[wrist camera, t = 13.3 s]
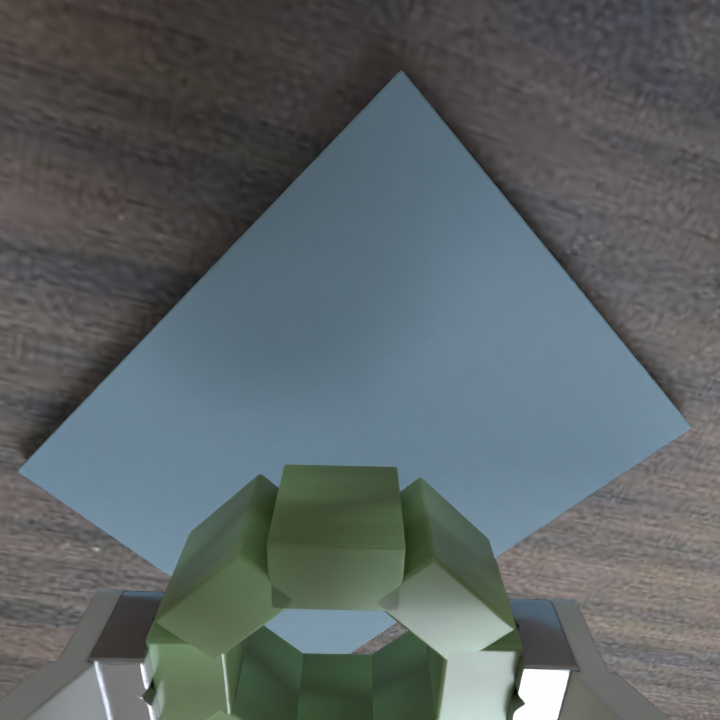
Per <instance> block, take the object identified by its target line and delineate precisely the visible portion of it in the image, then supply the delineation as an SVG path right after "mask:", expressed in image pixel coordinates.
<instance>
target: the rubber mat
mask: <svg viewBox="0 0 720 720" xmlns="http://www.w3.org/2000/svg"><path fill="white" fill-rule="evenodd" d="M690 428H691V425H690V424H689V422H688V421H687V420H686V419H685V417H684V416H683V415H682V414H681V413H680V411H679V410H678V409H677V408H676V406H675V405H674V404H673V403H672V401H671V400H670V399H669V398H668V397H667V395H666V394H665V393H664V392H663V390H662V389H661V388H660V387H659V385H658V384H657V383H656V382H655V381H654V379H653V378H652V377H651V376H650V374H649V373H648V372H647V371H646V369H645V368H644V367H643V366H642V365H641V363H640V362H639V361H638V360H637V358H636V357H635V356H634V355H633V353H632V352H631V351H630V350H629V349H628V347H627V346H626V345H625V344H624V342H623V341H622V340H621V339H620V337H619V336H618V335H617V334H616V333H615V331H614V330H613V329H612V328H611V326H610V325H609V324H608V323H607V321H606V320H605V319H604V318H603V317H602V315H601V314H600V313H599V312H598V310H597V309H596V308H595V307H594V305H593V304H592V303H591V302H590V301H589V299H588V298H587V297H586V296H585V294H584V293H583V292H582V291H581V289H580V288H579V287H578V286H577V285H576V283H575V282H574V281H573V280H572V278H571V277H570V276H569V275H568V273H567V272H566V271H565V270H564V269H563V267H562V266H561V265H560V264H559V262H558V261H557V260H556V259H555V257H554V256H553V255H552V254H551V253H550V251H549V250H548V249H547V248H546V246H545V245H544V244H543V243H542V241H541V240H540V239H539V238H538V237H537V235H536V234H535V233H534V232H533V230H532V229H531V228H530V227H529V225H528V224H527V223H526V222H525V221H524V219H523V218H522V217H521V216H520V214H519V213H518V212H517V211H516V209H515V208H514V207H513V206H512V205H511V203H510V202H509V201H508V200H507V198H506V197H505V196H504V195H503V193H502V192H501V191H500V190H499V189H498V187H497V186H496V185H495V184H494V182H493V181H492V180H491V179H490V177H489V176H488V175H487V174H486V173H485V171H484V170H483V169H482V168H481V166H480V165H479V164H478V163H477V161H476V160H475V159H474V158H473V157H472V155H471V154H470V153H469V152H468V150H467V149H466V148H465V147H464V145H463V144H462V143H461V142H460V141H459V139H458V138H457V137H456V136H455V134H454V133H453V132H452V131H451V129H450V128H449V127H448V126H447V125H446V123H445V122H444V121H443V120H442V118H441V117H440V116H439V115H438V113H437V112H436V111H435V110H434V109H433V107H432V106H431V105H430V104H429V102H428V101H427V100H426V99H425V97H424V96H423V95H422V94H421V93H420V91H419V90H418V89H417V88H416V86H415V85H414V84H413V83H412V81H411V80H410V79H409V78H408V77H407V75H406V74H405V73H404V72H403V71H402V70H401V71H399V72H398V73H397V74H396V75H395V76H394V77H393V78H392V79H391V80H390V82H389V83H388V84H387V85H386V86H385V87H384V88H383V89H382V90H381V91H380V92H379V93H378V94H377V95H376V96H375V97H374V98H373V99H372V100H371V101H370V102H369V103H368V104H367V106H366V107H365V108H364V109H363V110H362V111H361V112H360V113H359V114H358V115H357V116H356V117H355V118H354V119H353V120H352V121H351V122H350V123H349V124H348V125H347V126H346V127H345V128H344V130H343V131H342V132H341V133H340V134H339V135H338V136H337V137H336V138H335V139H334V140H333V141H332V142H331V143H330V144H329V145H328V146H327V147H326V148H325V149H324V150H323V151H322V152H321V154H320V155H319V156H318V157H317V158H316V159H315V160H314V161H313V162H312V163H311V164H310V165H309V166H308V167H307V168H306V169H305V170H304V171H303V172H302V173H301V174H300V175H299V176H298V178H297V179H296V180H295V181H294V182H293V183H292V184H291V185H290V186H289V187H288V188H287V189H286V190H285V191H284V192H283V193H282V194H281V195H280V196H279V197H278V198H277V199H276V200H275V202H274V203H273V204H272V205H271V206H270V207H269V208H268V209H267V210H266V211H265V212H264V213H263V214H262V215H261V216H260V217H259V218H258V219H257V220H256V221H255V222H254V223H253V224H252V226H251V227H250V228H249V229H248V230H247V231H246V232H245V233H244V234H243V235H242V236H241V237H240V238H239V239H238V240H237V241H236V242H235V243H234V244H233V245H232V246H231V247H230V248H229V250H228V251H227V252H226V253H225V254H224V255H223V256H222V257H221V258H220V259H219V260H218V261H217V262H216V263H215V264H214V265H213V266H212V267H211V268H210V269H209V270H208V271H207V272H206V274H205V275H204V276H203V277H202V278H201V279H200V280H199V281H198V282H197V283H196V284H195V285H194V286H193V287H192V288H191V289H190V290H189V291H188V292H187V293H186V294H185V295H184V296H183V298H182V299H181V300H180V301H179V302H178V303H177V304H176V305H175V306H174V307H173V308H172V309H171V310H170V311H169V312H168V313H167V314H166V315H165V316H164V317H163V318H162V319H161V320H160V322H159V323H158V324H157V325H156V326H155V327H154V328H153V329H152V330H151V331H150V332H149V333H148V334H147V335H146V336H145V337H144V338H143V339H142V340H141V341H140V342H139V343H138V344H137V346H136V347H135V348H134V349H133V350H132V351H131V352H130V353H129V354H128V355H127V356H126V357H125V358H124V359H123V360H122V361H121V362H120V363H119V364H118V365H117V366H116V367H115V368H114V370H113V371H112V372H111V373H110V374H109V375H108V376H107V377H106V378H105V379H104V380H103V381H102V382H101V383H100V384H99V385H98V386H97V387H96V388H95V389H94V390H93V391H92V392H91V394H90V395H89V396H88V397H87V398H86V399H85V400H84V401H83V402H82V403H81V404H80V405H79V406H78V407H77V408H76V409H75V410H74V411H73V412H72V413H71V414H70V415H69V416H68V418H67V419H66V420H65V421H64V422H63V423H62V424H61V425H60V426H59V427H58V428H57V429H56V430H55V431H54V432H53V433H52V434H51V435H50V436H49V437H48V438H47V439H46V440H45V442H44V443H43V444H42V445H41V446H40V447H39V448H38V449H37V450H36V451H35V452H34V453H33V454H32V455H31V456H30V457H29V458H28V459H27V460H26V461H25V462H24V463H23V464H22V466H21V467H20V468H19V469H18V472H19V473H20V474H22V475H23V476H25V477H26V478H28V479H29V480H31V481H32V482H34V483H35V484H36V485H38V486H39V487H41V488H42V489H44V490H45V491H47V492H48V493H50V494H51V495H52V496H54V497H55V498H57V499H58V500H60V501H61V502H63V503H64V504H66V505H67V506H68V507H70V508H71V509H73V510H74V511H76V512H77V513H79V514H80V515H82V516H83V517H84V518H86V519H87V520H89V521H90V522H92V523H93V524H95V525H96V526H97V527H99V528H100V529H102V530H103V531H105V532H106V533H108V534H109V535H111V536H112V537H113V538H115V539H116V540H118V541H119V542H121V543H122V544H124V545H125V546H127V547H128V548H129V549H131V550H132V551H134V552H135V553H137V554H138V555H140V556H141V557H143V558H144V559H145V560H147V561H148V562H150V563H151V564H153V565H154V566H156V567H157V568H159V569H160V570H161V571H163V572H164V573H166V574H167V575H169V576H170V577H172V574H173V572H174V570H175V567H176V565H177V562H178V560H179V557H180V555H181V553H182V550H183V548H184V545H185V543H186V541H187V538H188V536H189V533H190V532H191V531H192V530H193V529H195V528H196V527H197V526H198V525H199V524H201V523H202V522H203V521H204V520H205V519H206V518H208V517H209V516H210V515H211V514H212V513H214V512H215V511H216V510H217V509H218V508H219V507H221V506H222V505H223V504H224V503H225V502H227V501H228V500H229V499H230V498H231V497H232V496H234V495H235V494H236V493H237V492H238V491H240V490H241V489H242V488H243V487H244V486H245V485H247V484H248V483H249V482H250V481H251V480H253V479H254V478H255V477H256V476H257V475H259V474H262V475H264V476H265V477H266V478H267V479H269V480H270V481H271V482H272V483H273V484H275V485H276V486H277V487H278V488H279V485H280V481H281V476H282V472H283V467H284V465H286V464H293V465H335V466H377V467H397V469H398V477H399V487H400V491H402V490H403V489H404V488H406V487H407V486H408V485H410V484H411V483H412V482H414V481H415V480H416V479H418V478H420V477H421V478H423V479H424V480H425V481H426V482H427V483H428V484H429V485H430V486H432V487H433V488H434V489H435V490H436V491H437V492H438V493H439V494H440V495H441V496H442V497H443V498H445V499H446V500H447V501H448V502H449V503H450V504H451V505H452V506H453V507H454V508H455V509H457V510H458V511H459V512H460V513H461V514H462V515H463V516H464V517H465V518H466V519H467V520H468V521H470V522H471V523H472V524H473V525H474V526H475V527H476V528H477V529H478V530H479V531H480V532H482V533H483V534H484V535H485V536H486V537H487V538H488V539H489V541H490V544H491V548H492V551H493V554H494V558H495V557H497V556H498V555H500V554H501V553H503V552H504V551H506V550H507V549H509V548H510V547H512V546H513V545H515V544H516V543H518V542H519V541H521V540H522V539H524V538H525V537H527V536H528V535H530V534H531V533H533V532H534V531H536V530H537V529H539V528H541V527H542V526H544V525H545V524H547V523H548V522H550V521H551V520H553V519H554V518H556V517H557V516H559V515H560V514H562V513H563V512H565V511H566V510H568V509H569V508H571V507H572V506H574V505H575V504H577V503H578V502H580V501H581V500H583V499H584V498H586V497H587V496H589V495H590V494H592V493H594V492H595V491H597V490H598V489H600V488H601V487H603V486H604V485H606V484H607V483H609V482H610V481H612V480H613V479H615V478H616V477H618V476H619V475H621V474H622V473H624V472H625V471H627V470H628V469H630V468H631V467H633V466H634V465H636V464H637V463H639V462H640V461H642V460H643V459H645V458H647V457H648V456H650V455H651V454H653V453H654V452H656V451H657V450H659V449H660V448H662V447H663V446H665V445H666V444H668V443H669V442H671V441H672V440H674V439H675V438H677V437H678V436H680V435H681V434H683V433H684V432H686V431H687V430H689V429H690ZM395 623H397V621H396V620H395V619H393V618H392V617H391V616H389V615H388V614H387V613H386V612H384V611H361V610H315V609H285V610H284V611H283V612H281V613H280V614H279V615H277V616H276V617H274V618H273V619H272V620H270V621H269V622H268V623H266V624H265V625H264V626H266V627H267V628H268V629H270V630H271V631H273V632H274V633H275V634H277V635H278V636H280V637H281V638H283V639H284V640H285V641H287V642H288V643H290V644H291V645H292V646H294V647H295V648H297V649H298V650H300V651H301V652H302V653H321V654H350V653H351V652H353V651H354V650H356V649H357V648H359V647H360V646H362V645H363V644H365V643H366V642H368V641H369V640H371V639H372V638H374V637H375V636H377V635H379V634H380V633H382V632H383V631H385V630H386V629H388V628H389V627H391V626H392V625H394V624H395Z"/></svg>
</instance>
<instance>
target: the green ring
mask: <svg viewBox="0 0 720 720" xmlns="http://www.w3.org/2000/svg"><path fill="white" fill-rule="evenodd" d="M285 609H315V610H361V611H384V612H386V613H387V614H388V615H389V616H391V617H392V618H393V619H395V620H396V621H397V622H398V623H400V624H401V625H402V626H403V627H405V628H406V629H407V630H409V631H407V632H406V633H404V634H403V635H401V636H400V637H398V638H397V639H395V640H393V641H392V642H390V643H389V644H387V645H386V646H384V647H383V648H381V649H380V650H378V651H377V652H375V653H373V654H372V655H369V654H321V653H302V652H301V651H300V650H298V649H297V648H295V647H294V646H292V645H291V644H290V643H288V642H287V641H285V640H284V639H283V638H281V637H280V636H278V635H277V634H275V633H274V632H273V631H271V630H270V629H268V628H267V627H266V626H264V625H265V624H266V623H268V622H269V621H270V620H272V619H273V618H274V617H276V616H277V615H279V614H280V613H281V612H283V611H284V610H285ZM146 647H147V648H149V651H150V657H151V662H152V667H153V672H154V675H153V678H152V680H153V685H154V688H155V689H156V690H157V694H158V699H159V705H160V711H161V716H160V720H506V719H507V714H508V709H509V704H510V699H511V697H512V696H513V694H514V690H515V682H514V680H515V676H516V671H517V667H518V662H519V657H520V655H522V652H523V646H522V643H521V639H520V636H519V633H518V630H517V626H516V623H515V620H514V617H513V613H512V610H511V607H510V604H509V600H508V597H507V594H506V591H505V587H504V584H503V581H502V578H501V574H500V571H499V568H498V565H497V561H496V559H495V558H494V554H493V551H492V548H491V544H490V541H489V539H488V538H487V537H486V536H485V535H484V534H483V533H482V532H480V531H479V530H478V529H477V528H476V527H475V526H474V525H473V524H472V523H471V522H470V521H468V520H467V519H466V518H465V517H464V516H463V515H462V514H461V513H460V512H459V511H458V510H457V509H455V508H454V507H453V506H452V505H451V504H450V503H449V502H448V501H447V500H446V499H445V498H443V497H442V496H441V495H440V494H439V493H438V492H437V491H436V490H435V489H434V488H433V487H432V486H430V485H429V484H428V483H427V482H426V481H425V480H424V479H423V478H421V477H420V478H418V479H416V480H415V481H414V482H412V483H411V484H410V485H408V486H407V487H406V488H404V489H403V490H402V491H400V487H399V477H398V469H397V467H377V466H335V465H293V464H286V465H284V467H283V472H282V476H281V481H280V485H279V488H278V487H277V486H276V485H275V484H273V483H272V482H271V481H270V480H269V479H267V478H266V477H265V476H264V475H262V474H259V475H257V476H256V477H255V478H254V479H253V480H251V481H250V482H249V483H248V484H247V485H245V486H244V487H243V488H242V489H241V490H240V491H238V492H237V493H236V494H235V495H234V496H232V497H231V498H230V499H229V500H228V501H227V502H225V503H224V504H223V505H222V506H221V507H219V508H218V509H217V510H216V511H215V512H214V513H212V514H211V515H210V516H209V517H208V518H206V519H205V520H204V521H203V522H202V523H201V524H199V525H198V526H197V527H196V528H195V529H193V530H192V531H191V532H190V533H189V536H188V538H187V541H186V543H185V545H184V548H183V550H182V553H181V555H180V557H179V560H178V562H177V565H176V567H175V570H174V572H173V574H172V577H171V579H170V582H169V584H168V586H167V589H166V591H165V594H164V596H163V599H162V601H161V603H160V606H159V608H158V611H157V613H156V615H155V618H154V621H153V623H152V626H151V628H150V631H149V633H148V635H147V638H146Z"/></svg>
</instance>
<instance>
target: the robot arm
mask: <svg viewBox="0 0 720 720" xmlns="http://www.w3.org/2000/svg"><path fill="white" fill-rule="evenodd" d="M164 594H165V592H150V591H129V590H126V591H121V590H100V591H99V592H98V593H97V594H96V595H95V596H94V597H93V599H92V601H91V603H90V604H89V606H88V608H87V610H86V611H85V613H84V615H83V617H82V618H81V620H80V622H79V624H78V626H77V627H76V629H75V631H74V633H73V634H72V636H71V638H70V640H69V642H68V643H67V645H66V647H65V649H64V650H63V652H62V654H61V656H60V658H59V659H58V661H57V662H49V663H47V664H46V665H44V666H43V667H42V668H40V669H39V670H38V671H36V672H35V673H34V674H32V675H31V676H30V677H28V678H27V679H26V680H24V681H23V682H22V683H20V684H19V685H18V686H16V687H15V688H14V689H12V690H11V691H10V692H8V693H7V694H6V695H4V696H3V697H2V698H0V720H159V719H160V716H161V711H160V705H159V699H158V694H157V690H156V689H155V688H154V685H153V680H152V678H153V675H154V672H153V667H152V662H151V657H150V651H149V648H147V647H146V638H147V635H148V633H149V631H150V628H151V626H152V623H153V621H154V618H155V615H156V613H157V611H158V608H159V606H160V603H161V601H162V599H163V596H164ZM508 600H509V604H510V607H511V610H512V613H513V617H514V620H515V623H516V626H517V630H518V633H519V636H520V639H521V643H522V646H523V652H522V655H520V657H519V662H518V667H517V671H516V676H515V680H514V682H515V690H514V694H513V696H512V697H511V699H510V704H509V709H508V714H507V719H506V720H671V719H669V718H668V717H667V716H666V715H665V714H664V713H663V712H661V711H660V710H659V709H658V708H657V707H656V706H654V705H653V704H652V703H651V702H650V701H649V700H647V699H646V698H645V697H644V696H643V695H642V694H640V693H639V692H638V691H637V690H636V689H635V688H633V687H632V686H631V685H630V684H629V683H628V682H627V681H625V680H624V679H623V678H622V677H621V676H620V675H618V674H617V673H613V672H608V670H607V668H606V665H605V663H604V661H603V659H602V657H601V654H600V652H599V650H598V648H597V646H596V644H595V641H594V639H593V637H592V635H591V633H590V630H589V628H588V626H587V624H586V622H585V620H584V617H583V615H582V613H581V611H580V609H579V606H578V604H577V603H576V602H575V601H574V600H566V599H548V600H547V599H508Z"/></svg>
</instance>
